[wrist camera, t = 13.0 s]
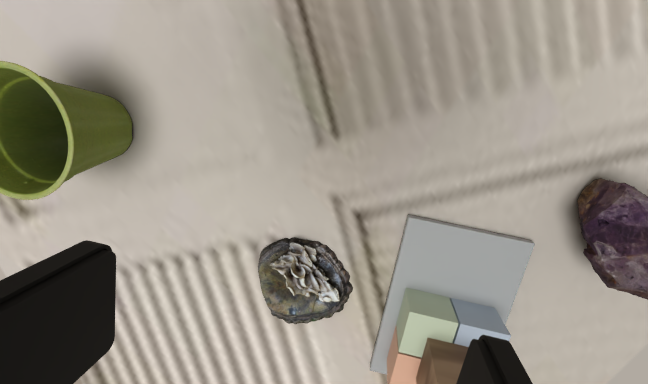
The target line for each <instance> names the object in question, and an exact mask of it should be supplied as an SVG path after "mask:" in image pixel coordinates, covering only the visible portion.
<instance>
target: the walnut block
mask: <svg viewBox="0 0 648 384" xmlns="http://www.w3.org/2000/svg"><path fill="white" fill-rule="evenodd" d="M468 348H469V347H466V346H462V345H458V344H453V343H449V342H445V341H441V340H437V339H432V338H427V342H426V345H425V348H424V352H423V355H422V359H421V362H420V365H419V369H418V372H417V376H416V382H417V384H456V383H457V380H458V377H459V374H460V371H461V368H462V365H463V362H464V359H465V356H466V354H467V351H468Z"/></svg>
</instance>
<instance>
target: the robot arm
mask: <svg viewBox="0 0 648 384" xmlns="http://www.w3.org/2000/svg"><path fill="white" fill-rule="evenodd" d="M115 287H116V255H115V253H113V252H112V249H111V247H110V246H108V245H105V244H101V243H96V242H92V241H83V242H80V243H78V244H76V245H74V246H72V247H70V248H68V249H66V250H64V251H62V252H59V253H57V254H55V255H53V256H51V257H49V258H47V259H45V260H43V261H41V262H38V263H36V264H34V265H32V266H30V267H28V268H26V269H24V270H22V271H20V272H17V273H15V274H13V275H11V276H9V277H7V278H5V279H3V280H1V281H0V384H73V383H74V382H76V380H78V379H79V378H80V377H81V376H82V375H83V374H84V373H85V372H86V371H87V370H88V369H90V368H91V367H92V366H93V365H94V364H95V363H96V362H97V361H98V360H99V359H100V358H101V357H102V356H104V355H105V354H106V353H107V352H108V351H109V349H110V348H111V346H112V344H113V341H114V337H115ZM456 384H532V382H531V380H530V378H529V376H528V374H527V373H526V371H525V369H524V367H523V365H522V364H521V362H520V360H519V358H518V356H517V354H516V353H515V351H514V349H513V347H512V345H511V344H510V342H509V341H507V340H504V339H500V338H496V337H491V336H487V335H481V336H480V337H479V339H478V340H477V339H472V341H471V342H470V345H469V348H468V351H467V354H466V356H465V359H464V362H463V365H462V368H461V371H460V374H459V377H458V380H457V383H456Z"/></svg>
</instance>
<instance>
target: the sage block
mask: <svg viewBox="0 0 648 384" xmlns="http://www.w3.org/2000/svg"><path fill="white" fill-rule="evenodd" d="M458 324H459V323H458V320H457V318H456V315H455V312H454V309H453V307H452V304H451V301H450V298H449V297H445V296H441V295H437V294H432V293H428V292H424V291H419V290H415V289H411V288H406V289H405V293H404V297H403V300H402V304H401V308H400V312H399V315H398V319H397V323H396V327H397V339H398V351H399V352H401V353H405V354H409V355H413V356H417V357H421V358H422V355H423V352H424V348H425V345H426V342H427V338H432V339H437V340H441V341H445V342H449V343H452V342H453V339H454V336H455V333H456V330H457V327H458Z"/></svg>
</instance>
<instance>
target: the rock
mask: <svg viewBox="0 0 648 384" xmlns="http://www.w3.org/2000/svg"><path fill="white" fill-rule="evenodd" d="M577 202H578V206H579V207H578V209H579V218H580V219H581V223H580V225H581V230H582V232H581V233H582V235H583V237H584V239H585V240H586V241H587V249H584V252H583V253H584V254H585V256H586V257H587V258H588V260H589V261H590V262H591V264H592V267H593V269H594V271H595V272H596V273H597V274H598V275H599V277H600V278H601V280H602V281H603V282H604V283H605V284H606V286H607V287H608V288H613V289H616V290H619V291H624V292H628V293H630V294H633V295H637V296H639V297H642V298H645V299H648V197H647V196H645V195H644V194H642V193H641V192H639V191H638V190H637V189H636V188H634V187H633V186H630V185H628V184H626V183H617V182H614V181H611V180H605V179H602V178H600V179H596V180H594V181H593V182H592V183H591V184H590V185H588V186H587V187H586V188H585V189H584V190H583V191H582V193H581V195H580V197H579V199H578V201H577Z"/></svg>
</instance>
